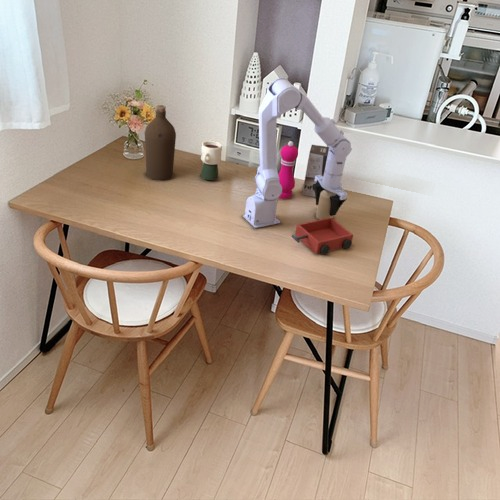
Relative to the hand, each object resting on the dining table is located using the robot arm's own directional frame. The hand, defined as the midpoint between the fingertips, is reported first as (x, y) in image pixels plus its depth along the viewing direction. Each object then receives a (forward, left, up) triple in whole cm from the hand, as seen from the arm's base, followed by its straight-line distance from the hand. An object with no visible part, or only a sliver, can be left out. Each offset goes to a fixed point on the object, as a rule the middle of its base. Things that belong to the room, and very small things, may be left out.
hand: (325, 209), depth 176 cm
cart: (-10, -12, -3) cm, 16 cm away
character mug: (-24, +39, -3) cm, 45 cm away
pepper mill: (-5, +19, -3) cm, 19 cm away
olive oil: (-40, +47, -3) cm, 61 cm away
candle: (0, 0, -3) cm, 3 cm away
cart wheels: (-12, -12, -3) cm, 17 cm away
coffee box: (+7, +18, -3) cm, 19 cm away
